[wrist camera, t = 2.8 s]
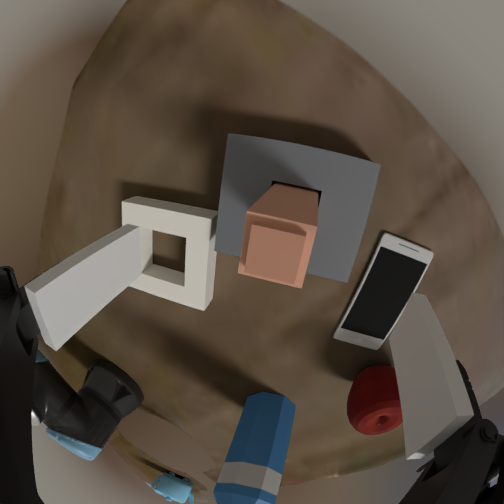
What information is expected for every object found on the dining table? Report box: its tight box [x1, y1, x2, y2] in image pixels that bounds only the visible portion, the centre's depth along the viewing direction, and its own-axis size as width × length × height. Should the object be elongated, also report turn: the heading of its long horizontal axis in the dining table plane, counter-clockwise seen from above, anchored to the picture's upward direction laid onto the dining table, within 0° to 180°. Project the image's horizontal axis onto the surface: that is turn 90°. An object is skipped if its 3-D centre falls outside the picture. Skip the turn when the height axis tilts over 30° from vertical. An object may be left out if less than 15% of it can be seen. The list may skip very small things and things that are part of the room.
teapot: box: [151, 471, 194, 504], centre depth 76 cm, size 22×11×14 cm, turn 71°
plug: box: [238, 181, 318, 288], centre depth 22 cm, size 4×4×15 cm
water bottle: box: [213, 392, 296, 504], centre depth 32 cm, size 9×9×25 cm
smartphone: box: [334, 232, 433, 350], centre depth 30 cm, size 7×16×1 cm, turn 166°
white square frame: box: [122, 196, 218, 311], centre depth 33 cm, size 12×12×3 cm
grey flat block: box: [214, 133, 381, 283], centre depth 26 cm, size 14×12×4 cm
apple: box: [347, 365, 403, 435], centre depth 30 cm, size 10×10×10 cm
